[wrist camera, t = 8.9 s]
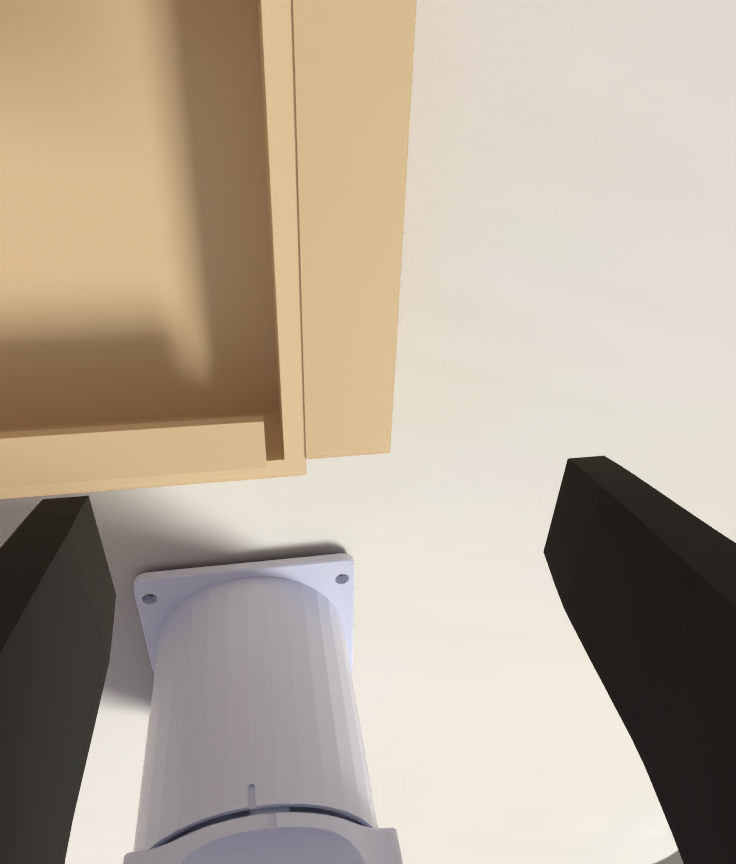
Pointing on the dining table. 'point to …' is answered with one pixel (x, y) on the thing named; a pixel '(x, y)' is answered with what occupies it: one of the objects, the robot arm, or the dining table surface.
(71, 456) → the tan wooden shallow tray
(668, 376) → the dining table surface
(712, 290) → the dining table surface
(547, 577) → the dining table surface
